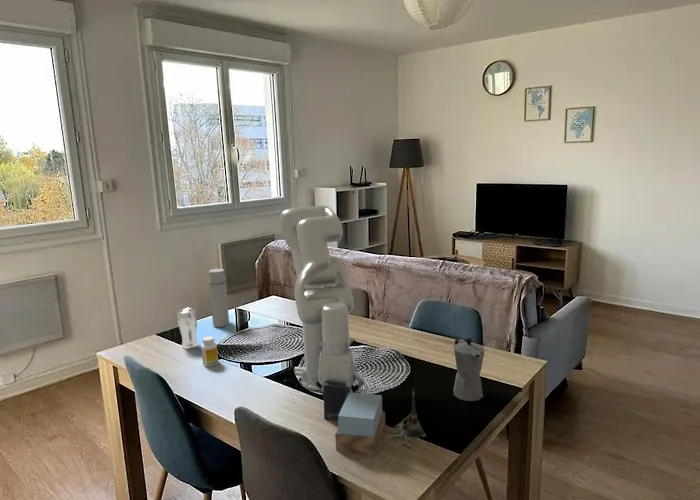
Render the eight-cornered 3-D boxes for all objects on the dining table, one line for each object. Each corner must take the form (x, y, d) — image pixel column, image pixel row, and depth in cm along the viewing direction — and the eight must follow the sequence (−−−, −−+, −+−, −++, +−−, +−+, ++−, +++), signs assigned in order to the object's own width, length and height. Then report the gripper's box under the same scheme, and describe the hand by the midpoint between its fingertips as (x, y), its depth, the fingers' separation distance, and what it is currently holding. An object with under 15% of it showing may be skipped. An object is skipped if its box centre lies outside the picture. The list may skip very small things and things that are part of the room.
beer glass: (177, 348, 191) (172, 312, 188) (189, 341, 198) (185, 306, 195) (191, 350, 189) (187, 313, 186) (202, 343, 195) (199, 308, 192)
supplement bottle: (221, 361, 178) (219, 336, 176) (211, 367, 173) (209, 342, 171) (210, 359, 180) (207, 334, 178) (200, 365, 175) (197, 340, 173)
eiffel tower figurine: (410, 414, 139) (409, 371, 136) (442, 425, 133) (442, 380, 130) (381, 440, 127) (380, 393, 125) (415, 453, 121) (414, 404, 119)
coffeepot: (493, 402, 143) (494, 345, 139) (463, 407, 141) (464, 349, 137) (469, 379, 158) (469, 326, 154) (442, 383, 156) (442, 330, 152)
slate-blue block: (338, 433, 122) (338, 415, 121) (349, 409, 133) (349, 392, 132) (374, 437, 120) (373, 419, 119) (382, 412, 131) (381, 395, 130)
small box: (346, 421, 136) (344, 386, 134) (323, 419, 137) (321, 385, 135) (353, 402, 146) (352, 369, 144) (332, 400, 147) (331, 368, 145)
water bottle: (228, 327, 212) (222, 272, 207) (210, 328, 212) (204, 272, 207) (233, 320, 221) (228, 267, 216) (216, 320, 221) (211, 267, 216)
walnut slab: (336, 451, 123) (335, 434, 122) (350, 424, 135) (349, 407, 134) (374, 457, 120) (374, 439, 119) (385, 428, 132) (385, 411, 131)
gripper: (302, 349, 136) (306, 407, 140) (362, 353, 132) (364, 414, 135) (311, 339, 143) (314, 395, 147) (369, 343, 139) (370, 400, 142)
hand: (338, 403), depth 141 cm, fingers closed on small box, 6 cm apart
